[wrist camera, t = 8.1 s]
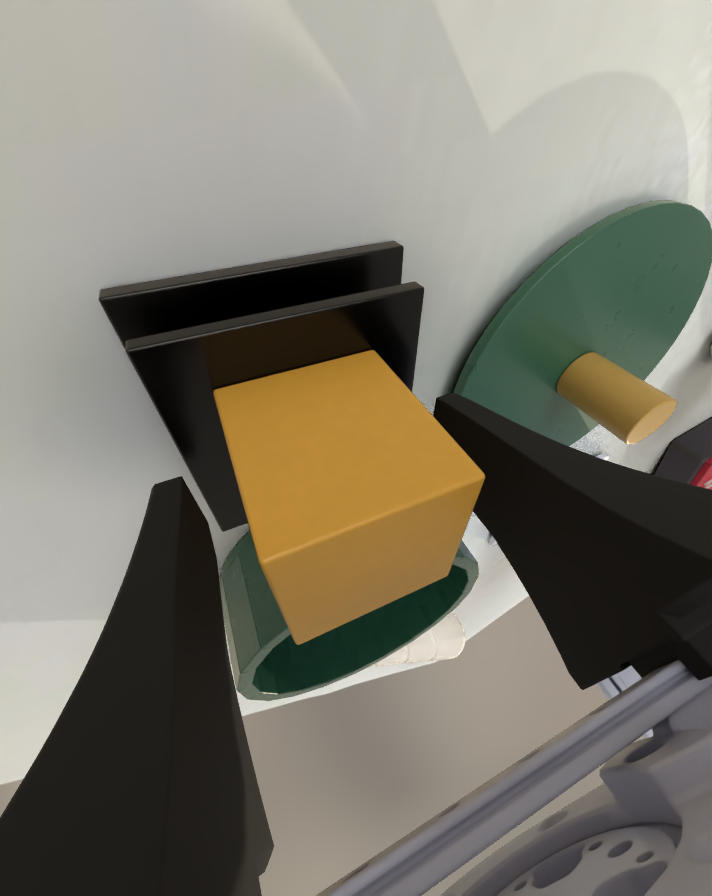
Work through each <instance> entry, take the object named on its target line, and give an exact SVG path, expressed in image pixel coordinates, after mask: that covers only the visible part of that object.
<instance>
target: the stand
mask: <svg viewBox="0 0 712 896" xmlns="http://www.w3.org/2000/svg"><path fill="white" fill-rule="evenodd" d="M402 262H403V246H402V245H400V244H399V243H397V242H396V241H390V242H384V243H378V244H372V245H366V246H360V247H354V248H348V249H342V250H336V251H330V252H324V253H318V254H312V255H306V256H300V257H294V258H288V259H282V260H276V261H270V262H264V263H258V264H252V265H246V266H240V267H234V268H228V269H222V270H216V271H210V272H203V273H197V274H191V275H185V276H179V277H173V278H167V279H161V280H155V281H149V282H143V283H137V284H131V285H125V286H119V287H113V288H107V289H101V290H100V293H99V301H100V303H101V305H102V307H103V309H104V311H105V313H106V315H107V316H108V318H109V320H110V322H111V324H112V326H113V328H114V329H115V331H116V333H117V335H118V337H119V339H120V341H121V343H122V344H123V346H124V348H125V350H126V353H127V355H128V357H129V359H130V361H131V363H132V364H133V366H134V368H135V370H136V372H137V374H138V376H139V378H140V379H141V381H142V383H143V385H144V387H145V389H146V391H147V392H148V394H149V396H150V398H151V400H152V402H153V404H154V405H155V407H156V409H157V411H158V413H159V415H160V417H161V419H162V420H163V422H164V424H165V426H166V428H167V430H168V432H169V433H170V435H171V437H172V439H173V441H174V443H175V445H176V446H177V448H178V450H179V452H180V454H181V456H182V458H183V460H184V461H185V463H186V465H187V467H188V469H189V471H190V473H191V474H192V476H193V478H194V480H195V482H196V484H197V486H198V487H199V489H200V491H201V493H202V495H203V497H204V499H205V501H206V502H207V504H208V506H209V508H210V510H211V512H212V514H213V515H214V517H215V519H216V521H217V523H218V525H219V527H220V529H221V530H222V531H226V530H229V529H232V528H235V527H237V526H240V525H243V524H246V523H248V520H247V517H246V513H245V509H244V506H243V502H242V498H241V494H240V491H239V487H238V483H237V480H236V476H235V472H234V468H233V465H232V461H231V457H230V454H229V450H228V446H227V443H226V439H225V435H224V431H223V428H222V424H221V420H220V417H219V413H218V409H217V405H216V402H215V398H214V394H213V393H214V390H216V389H219V388H223V387H227V386H231V385H235V384H239V383H243V382H247V381H251V380H255V379H258V378H262V377H266V376H270V375H274V374H278V373H282V372H286V371H290V370H294V369H298V368H302V367H306V366H310V365H314V364H318V363H322V362H326V361H330V360H334V359H338V358H342V357H346V356H350V355H354V354H358V353H362V352H365V351H369V350H374V351H375V352H376V353H377V354H378V355H379V356H380V357H381V358H382V360H383V361H384V362H385V363H386V364H387V365H388V366H389V367H390V369H391V370H392V371H393V372H394V373H395V374H396V375H397V376H398V377H399V379H400V380H401V381H402V382H403V383H404V384H405V385H406V386H407V388H408V389H409V390H410V391H411V392H412V387H413V379H414V370H415V362H416V354H417V345H418V337H419V328H420V320H421V312H422V303H423V295H424V287H422V286H421V285H420V284H418V283H417V282H410V283H405V284H401V276H402Z"/></svg>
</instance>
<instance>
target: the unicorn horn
mask: <svg viewBox="0 0 712 896" xmlns="http://www.w3.org/2000/svg"><path fill="white" fill-rule="evenodd" d="M464 645H465V633H464V629H463V626H462V624H461V623H460V621H459V619H458V618H457V617H456V616H455V615H454V614H453V613H452V612H450V613H449V614H448V615H447V616H446V617H445V618H443V619H442V620H441V621H440V622H439V623H438V624H436V625H435V626H434V627H432V628H431V629H429V630H428V631H427V632H425V633H424V634H422V635H421V636H419V637H418V638H417V639H415V640H414V641H412V642H411V643H409V644H408V645H406V646H404V647H403V648H401V649H399V650H398V651H396V652H394V653H393V654H391V655H389V656H388V657H386V658H384V659H383V660H381V661H379V662H377V663H375V664H374V665H375V666H384V665H394V664H402V663H413V662H423V661H433V660H444V659H453V658H456V657H457V656H458V655H459V654H461V652H462V650H463V648H464ZM372 666H373V665H371V666H369V667H372Z"/></svg>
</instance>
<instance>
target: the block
mask: <svg viewBox="0 0 712 896" xmlns="http://www.w3.org/2000/svg"><path fill="white" fill-rule="evenodd" d="M213 394H214V398H215V402H216V405H217V409H218V413H219V417H220V420H221V424H222V428H223V431H224V435H225V439H226V443H227V446H228V450H229V454H230V457H231V461H232V465H233V468H234V472H235V476H236V480H237V483H238V487H239V491H240V494H241V498H242V502H243V506H244V509H245V513H246V517H247V520H248V524H249V528H250V531H251V535H252V539H253V543H254V546H255V550H256V554H257V557H258V561H259V564H260V566H261V568H262V571H263V573H264V575H265V577H266V579H267V582H268V584H269V586H270V588H271V591H272V593H273V595H274V597H275V599H276V602H277V604H278V606H279V608H280V611H281V613H282V615H283V617H284V619H285V622H286V624H287V626H288V628H289V631H290V633H291V635H292V637H293V639H294V642H295V643H296V644H297V645H300V644H302V643H304V642H307V641H309V640H311V639H313V638H315V637H317V636H319V635H322V634H324V633H326V632H328V631H330V630H332V629H334V628H337V627H339V626H341V625H343V624H345V623H347V622H350V621H352V620H354V619H356V618H358V617H360V616H362V615H365V614H367V613H369V612H371V611H373V610H375V609H378V608H380V607H382V606H384V605H386V604H388V603H390V602H393V601H395V600H397V599H399V598H401V597H403V596H405V595H408V594H410V593H412V592H414V591H416V590H418V589H421V588H423V587H425V586H427V585H429V584H431V583H433V582H436V581H438V580H440V579H442V578H444V577H446V576H447V575H448V574H449V571H450V569H451V566H452V563H453V561H454V558H455V555H456V553H457V550H458V548H459V545H460V542H461V540H462V537H463V534H464V532H465V529H466V527H467V524H468V521H469V519H470V516H471V514H472V511H473V508H474V506H475V503H476V500H477V498H478V495H479V493H480V490H481V487H482V485H483V482H484V479H485V475H484V473H483V472H482V471H481V469H480V468H479V467H478V466H477V465H476V464H475V463H474V462H473V460H472V459H471V458H470V457H469V456H468V455H467V454H466V453H465V451H464V450H463V449H462V448H461V447H460V446H459V445H458V444H457V443H456V441H455V440H454V439H453V438H452V437H451V436H450V435H449V434H448V432H447V431H446V430H445V429H444V428H443V427H442V426H441V425H440V423H439V422H438V421H437V420H436V419H435V418H434V417H433V416H432V414H431V413H430V412H429V411H428V410H427V409H426V408H425V407H424V406H423V404H422V403H421V402H420V401H419V400H418V399H417V398H416V397H415V395H414V394H413V393H412V392H411V391H410V390H409V389H408V388H407V386H406V385H405V384H404V383H403V382H402V381H401V380H400V379H399V377H398V376H397V375H396V374H395V373H394V372H393V371H392V370H391V369H390V367H389V366H388V365H387V364H386V363H385V362H384V361H383V360H382V358H381V357H380V356H379V355H378V354H377V353H376V352H375V351H374V350H369V351H365V352H362V353H358V354H354V355H350V356H346V357H342V358H338V359H334V360H330V361H326V362H322V363H318V364H314V365H310V366H306V367H302V368H298V369H294V370H290V371H286V372H282V373H278V374H274V375H270V376H266V377H262V378H258V379H255V380H251V381H247V382H243V383H239V384H235V385H231V386H227V387H223V388H219V389H216V390H214V393H213Z"/></svg>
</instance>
